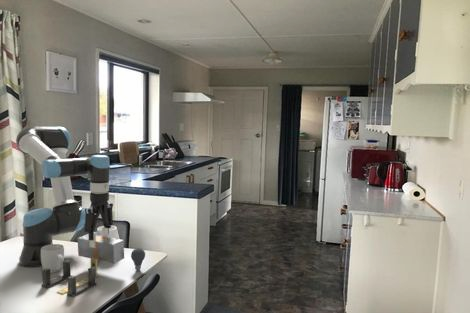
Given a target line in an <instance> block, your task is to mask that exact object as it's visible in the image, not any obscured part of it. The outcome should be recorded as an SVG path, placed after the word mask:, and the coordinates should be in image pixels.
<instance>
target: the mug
mask: <svg viewBox="0 0 470 313" xmlns="http://www.w3.org/2000/svg"><path fill="white" fill-rule="evenodd" d="M64 261H65V247H64V245H63V244H60V243H53V244H51V245H46V246H44V247H42V248H41V263H42V266H41V267H42V270H43V269H45V268H49V269H50V274H51V273H56V272H58V271H59V272H60V271H61V270H63V262H64Z"/></svg>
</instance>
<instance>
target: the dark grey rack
mask: <svg viewBox="0 0 470 313" xmlns="http://www.w3.org/2000/svg"><path fill="white" fill-rule="evenodd" d="M71 264H72V263H71V260H69V259H67V260H64V262H63V268H62V275H60V276H58V277H55V278H53V279H51V273H50V269H49V268H45V269H43V268H42V269H41V274H42V275H41V277H42V279H41V281H42V282H41V283H42V284H41V287H42V288H44V289H45V290H47V289H49V288H51V287H53V286H56V285H59V284H61V283H62V282H65V281H67V286H66V287H63V288H62V289H60V290H58V291H56V293H58V294H60V295H64V294H66V296H67V297H71V298H74V297H76V296H78V295H80V294H82V293H83V292H86V291H89V289H92V288H94V287H96V286H97V282H96V281H97V280H96V279H97V278H98V260H97V259H94V258H90V267H89V268H87V280H84V279H81V280H79V281H78V282H77V276H75V275H71V273H72V272H71V269H72V268H71V267H72V266H71Z"/></svg>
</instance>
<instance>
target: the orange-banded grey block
mask: <svg viewBox="0 0 470 313" xmlns="http://www.w3.org/2000/svg"><path fill="white" fill-rule="evenodd" d="M124 244H125V242H124V239H120V238H119V239H115V238H109V237H103V236H98V235H96V248H93V247H90V240H89V233H87V234H84V235H82V236H79V237H77V252H78V255H77V256H78V257H82V258H87V259H91V258H94V259H97V261H100V262H107V263H110V264H116V263H118V262H120V261H122V260H123V259H125V248H124V247H125V245H124Z"/></svg>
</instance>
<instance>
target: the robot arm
mask: <svg viewBox="0 0 470 313" xmlns="http://www.w3.org/2000/svg"><path fill="white" fill-rule="evenodd" d="M71 138H72V137H71V134H70V133H69V131H68V130H67V129H66V128H65V127H63V126H57V125H54V126H53V125H52V126H49V125H48V126H45V125H44V126H43V125H42V126H41V125H37V126H35V125H31V126H27V127H24V128H22V130H20V131H19V132H18V134H17V135H16V138H15V140H16V141H15V142H16V145H17V148H19V150H20V151H22V152H23V153H26V154H28V155H29V156H30V157H31V158H33V159H34V160H35V161H36V162H37V163H38V165H39V164H40V165H41V168H40V169H41V173H42V176H43V177H44V178H45V179H50V182H51V184H50V185H51V188H52V194H53V199H54V205H53V206H52V208H50V207H43V208H41V207H40V208H36V209H32V210H30V211H28V212H26V213H24V214H23V219H22V221H23V222H22V229H23V230H22V232H23V239H22V240H23V247H22V249H21V253H20V256H19V259H18V260H19V265H20V266H22V267H26V268H27V267H29V268H30V267H31V268H34V267H42V263H41V248H42V247H44V246H46V245H51V244H54V243H53V237H54V236H58V235H64V234H68V233H69V234H70V233H75V232H78V231H80V230H82V229H83V228H84V229H83V230H84V233H87V234H89V240H90V247H93V248H96V232H97V231H95V230H96V226H97V222H98V218H99V217H100V216H101V221H102V224H103V225H102V226H104V227H103V228H102V236H103V237H108V234H109V228H111V226H114V225H113V224H114V221H113V220H114V218H113V217H114V216H113V207H114V203H113V202H109V200H110V192H109V191H110V166H111V164H110V157H109V156H108V155H105V154H103V155H102V154H94V155H91V156H90V157H89V156H80V157H77V158H67V155H66V154H67V153H68V152H69V148H70V147H71V145H72V144H71V142H72V141H71ZM76 176H77V177H79V176H89V178H90V179H89V181H90V182H89V191H90V192H89V202H90V206H89V207H88V208H84V207H83V206H82V205H79V201H77V200H76V199H75V197H74V192H73V186H72V181H71V177H76Z"/></svg>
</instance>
